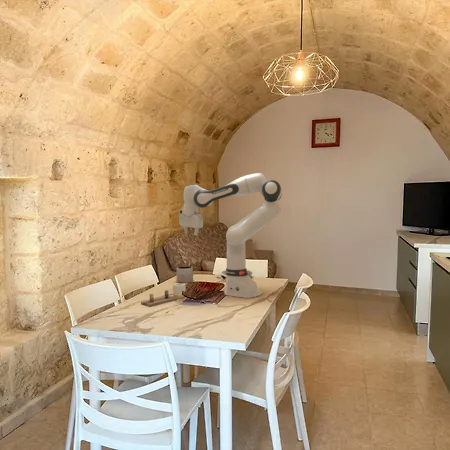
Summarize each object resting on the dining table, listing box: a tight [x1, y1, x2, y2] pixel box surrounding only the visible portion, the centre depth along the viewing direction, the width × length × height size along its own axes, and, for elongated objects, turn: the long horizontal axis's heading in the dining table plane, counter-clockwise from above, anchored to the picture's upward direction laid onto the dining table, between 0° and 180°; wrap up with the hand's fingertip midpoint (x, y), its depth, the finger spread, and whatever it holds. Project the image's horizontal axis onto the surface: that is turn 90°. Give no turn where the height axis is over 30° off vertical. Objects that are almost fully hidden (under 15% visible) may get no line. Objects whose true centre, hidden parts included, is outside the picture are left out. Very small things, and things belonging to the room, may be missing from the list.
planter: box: [176, 265, 194, 284], centre depth 266 cm, size 11×11×10 cm
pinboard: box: [140, 290, 178, 308], centre depth 216 cm, size 8×18×5 cm, turn 136°
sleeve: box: [172, 282, 187, 300], centre depth 226 cm, size 5×5×7 cm
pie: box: [216, 270, 253, 281], centre depth 277 cm, size 28×27×5 cm
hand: (191, 234), depth 241 cm, fingers open, 8 cm apart
